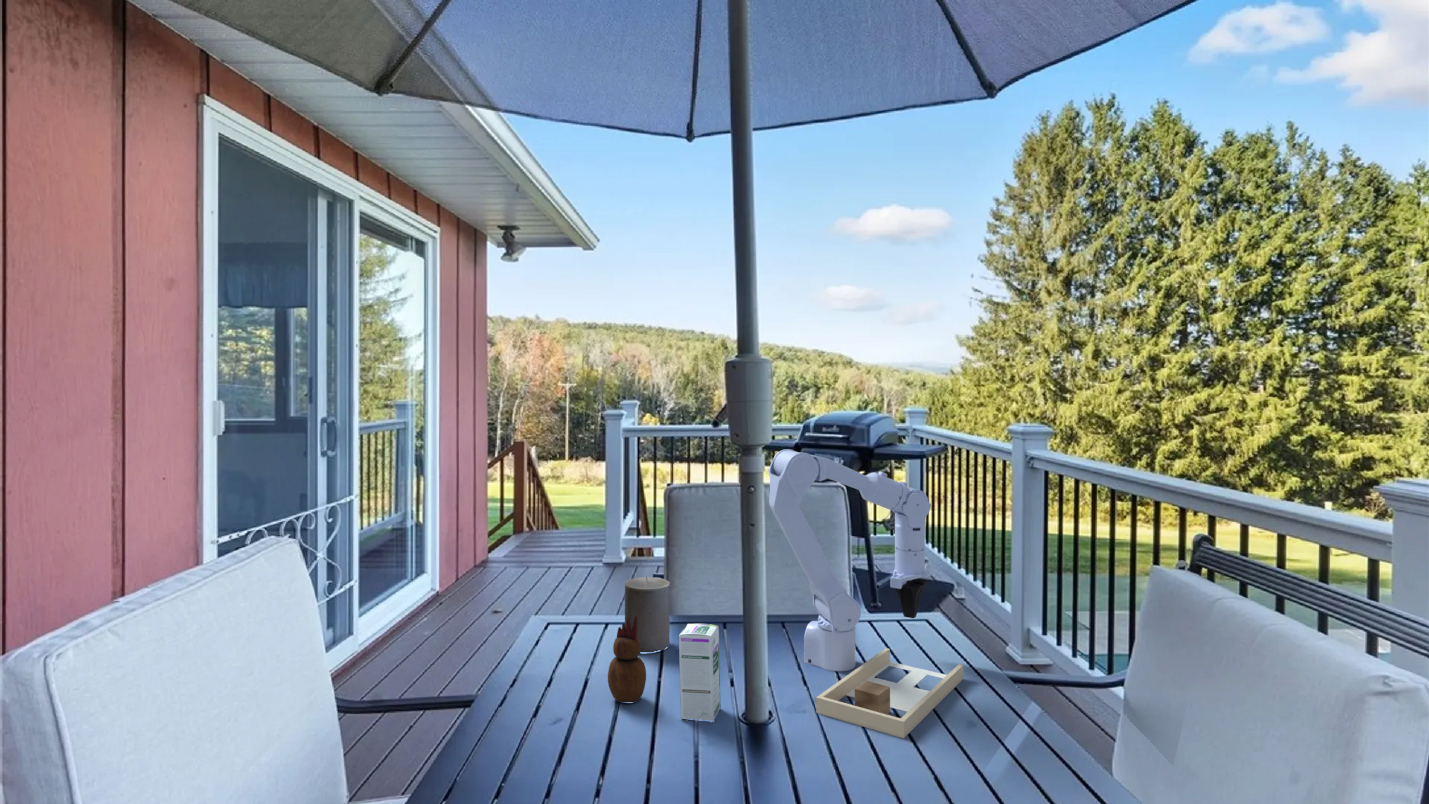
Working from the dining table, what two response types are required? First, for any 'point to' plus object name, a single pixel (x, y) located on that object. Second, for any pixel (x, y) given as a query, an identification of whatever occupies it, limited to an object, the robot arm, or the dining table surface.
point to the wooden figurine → (627, 665)
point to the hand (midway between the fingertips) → (909, 616)
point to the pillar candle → (649, 611)
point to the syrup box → (699, 671)
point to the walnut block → (873, 697)
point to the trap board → (900, 696)
